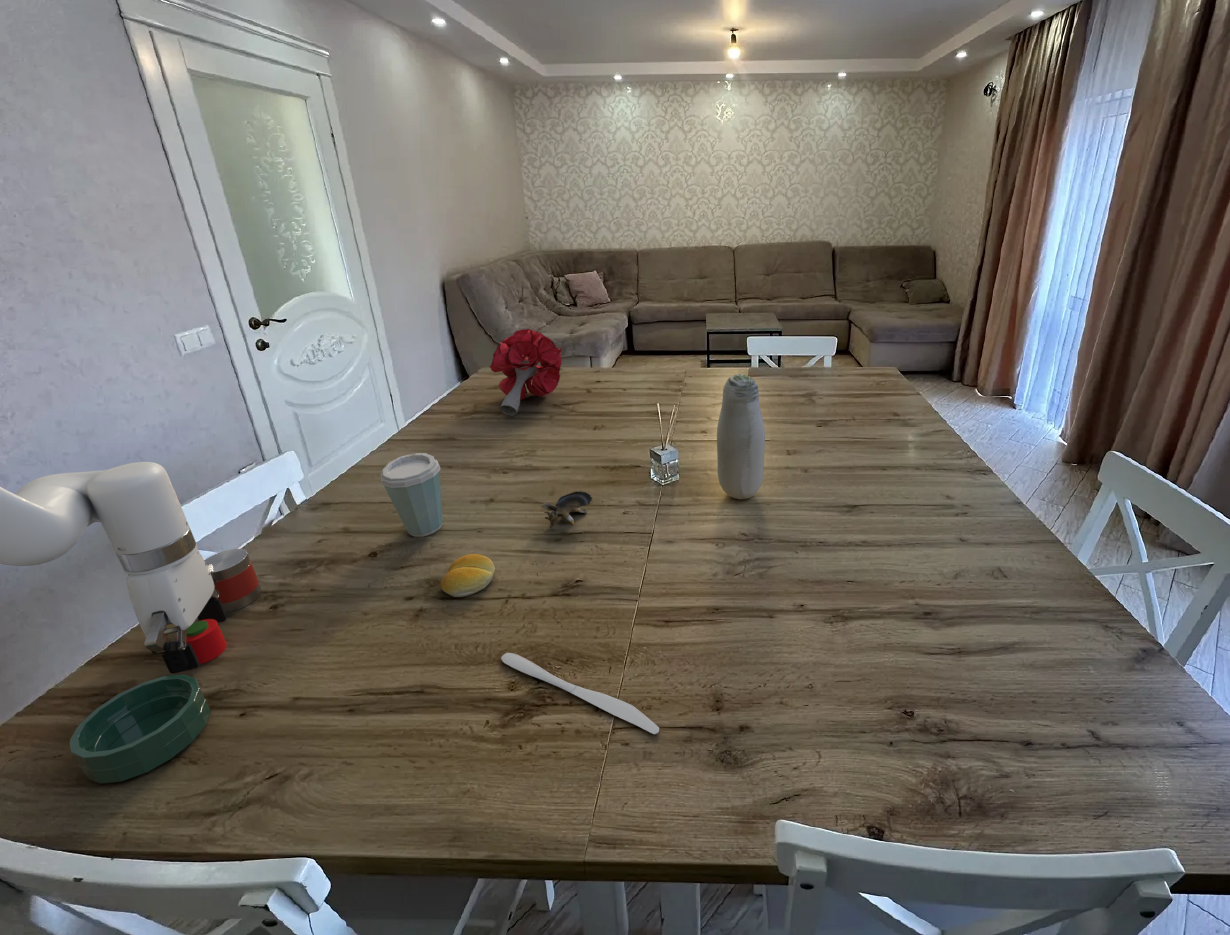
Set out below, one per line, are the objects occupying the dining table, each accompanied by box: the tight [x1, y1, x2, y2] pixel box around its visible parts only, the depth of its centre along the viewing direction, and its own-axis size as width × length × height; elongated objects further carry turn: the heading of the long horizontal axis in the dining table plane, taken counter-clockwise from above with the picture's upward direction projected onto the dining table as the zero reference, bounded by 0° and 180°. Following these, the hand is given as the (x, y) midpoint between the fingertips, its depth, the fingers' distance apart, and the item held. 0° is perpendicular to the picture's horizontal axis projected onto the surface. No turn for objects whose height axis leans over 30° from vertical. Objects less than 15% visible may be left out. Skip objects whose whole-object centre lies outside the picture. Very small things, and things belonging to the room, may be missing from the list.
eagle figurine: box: [540, 490, 593, 528], centre depth 114 cm, size 8×7×9 cm
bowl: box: [69, 673, 212, 785], centre depth 69 cm, size 11×11×5 cm
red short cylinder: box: [175, 619, 228, 665], centre depth 82 cm, size 5×5×5 cm
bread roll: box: [440, 553, 496, 598], centre depth 97 cm, size 8×9×4 cm
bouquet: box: [489, 328, 563, 416], centre depth 176 cm, size 22×24×30 cm
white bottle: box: [716, 373, 766, 500], centre depth 119 cm, size 10×10×28 cm
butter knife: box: [500, 652, 660, 735], centre depth 76 cm, size 1×27×3 cm
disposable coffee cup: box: [380, 452, 444, 538], centre depth 110 cm, size 11×11×15 cm
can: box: [204, 548, 263, 613], centre depth 93 cm, size 6×6×8 cm
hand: (200, 644), depth 82 cm, fingers open, 9 cm apart
